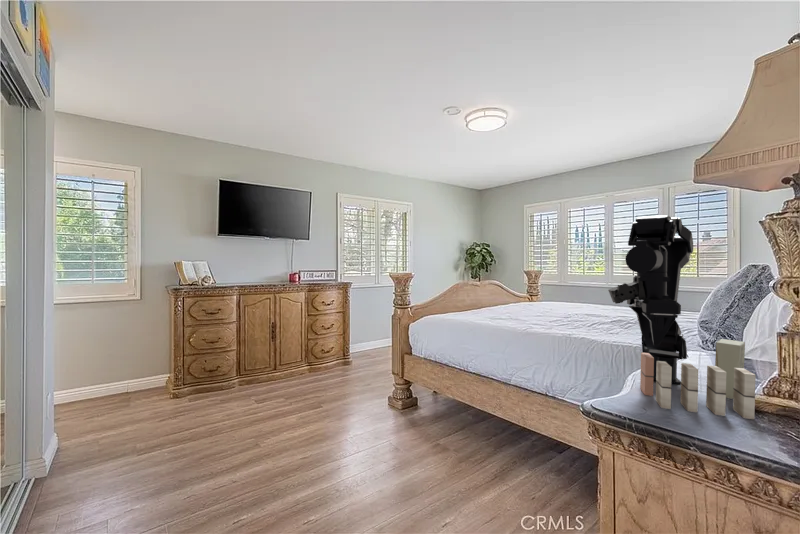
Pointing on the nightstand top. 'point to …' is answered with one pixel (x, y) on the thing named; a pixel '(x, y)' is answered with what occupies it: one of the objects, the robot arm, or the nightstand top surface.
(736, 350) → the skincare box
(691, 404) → the domino
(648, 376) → the domino
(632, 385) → the nightstand top surface
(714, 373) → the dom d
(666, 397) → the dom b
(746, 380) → the domino
